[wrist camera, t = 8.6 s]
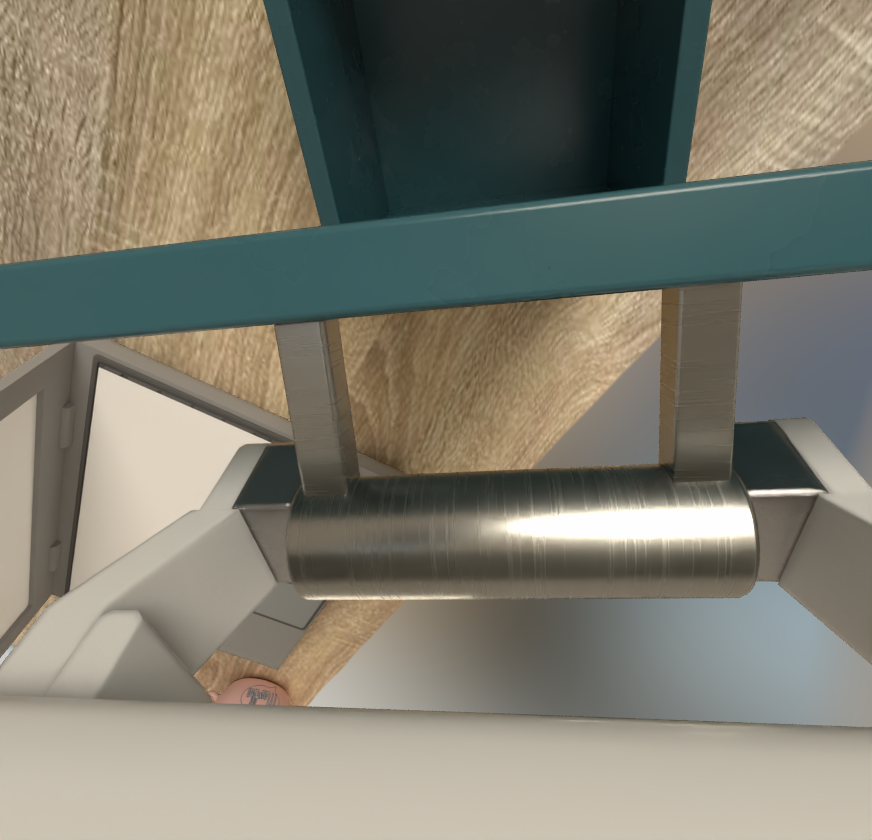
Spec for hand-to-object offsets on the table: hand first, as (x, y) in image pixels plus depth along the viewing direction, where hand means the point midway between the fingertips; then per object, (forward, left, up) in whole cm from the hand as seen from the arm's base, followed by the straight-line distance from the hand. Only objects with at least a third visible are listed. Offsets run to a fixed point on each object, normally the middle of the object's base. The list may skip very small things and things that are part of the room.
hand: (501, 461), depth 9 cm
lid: (0, -2, -5) cm, 6 cm away
